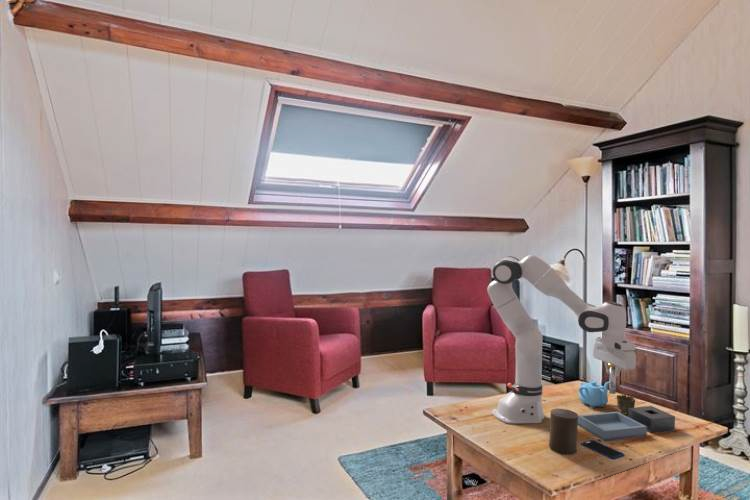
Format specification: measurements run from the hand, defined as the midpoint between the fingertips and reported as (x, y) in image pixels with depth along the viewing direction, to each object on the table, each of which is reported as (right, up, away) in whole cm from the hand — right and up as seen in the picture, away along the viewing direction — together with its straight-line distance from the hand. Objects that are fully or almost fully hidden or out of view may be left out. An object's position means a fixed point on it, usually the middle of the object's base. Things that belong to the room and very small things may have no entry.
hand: (612, 374), depth 193 cm
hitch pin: (0, -8, 0) cm, 8 cm away
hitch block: (+19, -23, +6) cm, 31 cm away
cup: (+15, -23, +18) cm, 33 cm away
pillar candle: (-27, -24, -16) cm, 39 cm away
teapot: (+7, -23, +30) cm, 38 cm away
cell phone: (-12, -24, -17) cm, 32 cm away
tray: (0, -23, +1) cm, 23 cm away
